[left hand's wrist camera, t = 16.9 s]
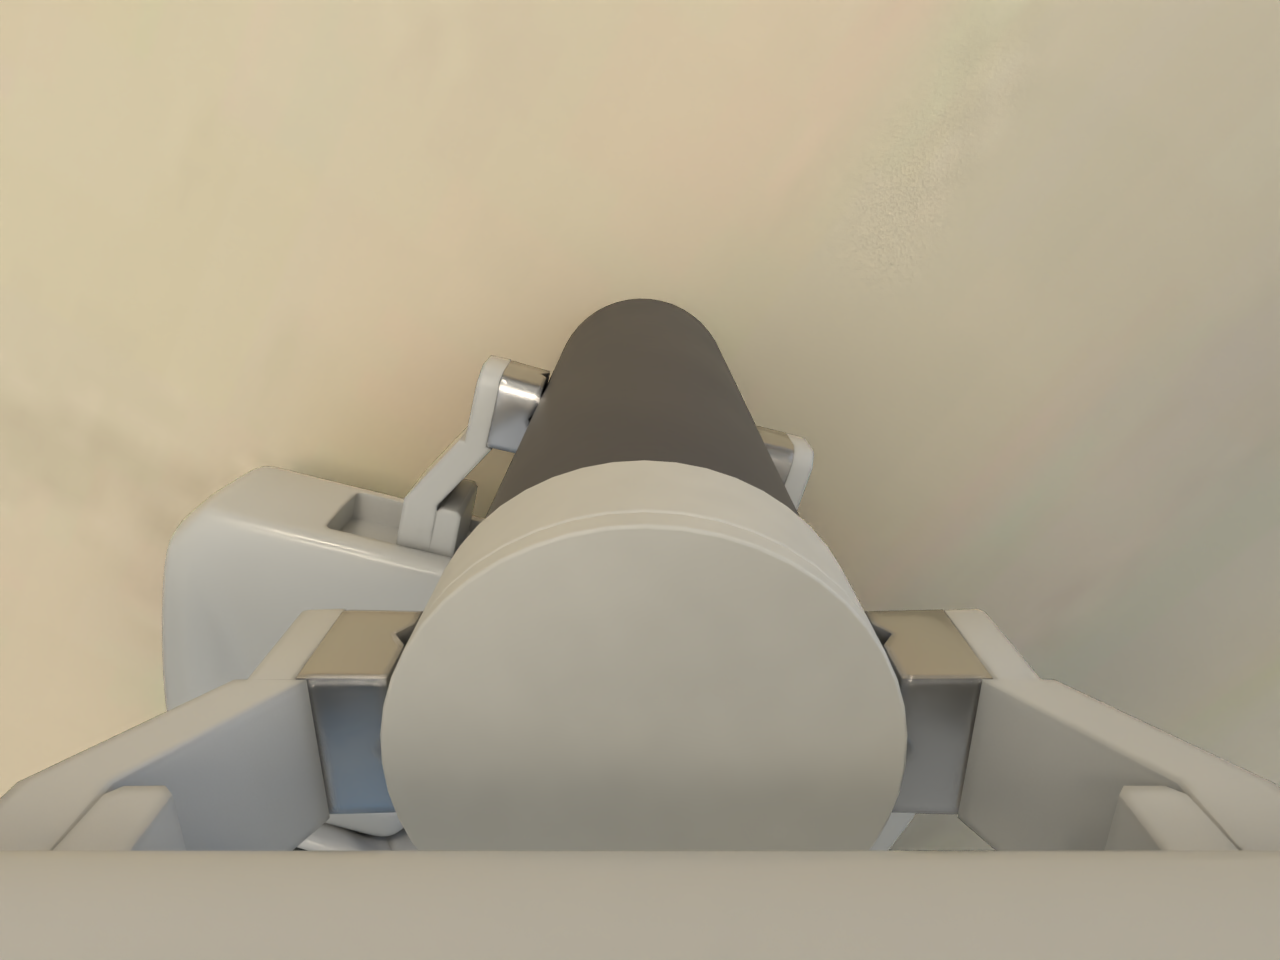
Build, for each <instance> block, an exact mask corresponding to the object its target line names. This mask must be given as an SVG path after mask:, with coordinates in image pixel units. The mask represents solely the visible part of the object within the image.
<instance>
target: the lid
mask: <svg viewBox="0 0 1280 960" xmlns="http://www.w3.org/2000/svg"><path fill="white" fill-rule="evenodd" d="M907 737H908V736H907V725H906V714H905V706H904V702H903V698H902V694H901V691H900V687H899V683H898V679H897V677H896V675H895V672H894V670H893V668H892V666H891V663H890V661H889V659H888V656H887V654H886V652H885V650H884V648H883V646H882V644H881V642H880V640H879V639H878V637H877V635H876V633H875V631H874V629H873V627H872V625H871V623H870V621H869V620H868V618H867V616H866V614H865V612H864V610H863V608H862V606H861V604H860V602H859V601H858V599H857V597H856V595H855V593H854V591H853V589H852V587H851V585H850V583H849V581H848V580H847V578H846V576H845V574H844V572H843V570H842V568H841V567H840V565H839V564H838V562H837V561H836V559H835V557H834V556H833V554H832V553H831V551H830V550H829V548H828V546H827V545H826V544H825V543H824V542H823V541H822V540H821V538H820V537H819V536H818V535H817V534H816V533H815V532H814V530H813V529H812V528H811V527H810V526H809V525H808V524H807V523H806V522H805V521H803V520H802V519H801V518H800V517H799V516H798V515H797V514H795V513H794V512H793V511H792V510H791V509H790V508H788V507H787V506H786V505H784V504H783V503H781V502H779V501H778V500H776V499H775V498H773V497H772V496H770V495H769V494H767V493H766V492H764V491H762V490H760V489H758V488H756V487H754V486H752V485H750V484H748V483H746V482H744V481H741V480H739V479H737V478H735V477H732V476H729V475H726V474H723V473H719V472H716V471H713V470H710V469H707V468H702V467H697V466H692V465H687V464H682V463H676V462H662V461H647V460H641V461H624V462H611V463H606V464H600V465H595V466H589V467H584V468H580V469H577V470H574V471H571V472H568V473H564V474H561V475H558V476H555V477H552V478H550V479H548V480H546V481H544V482H541V483H539V484H537V485H535V486H533V487H531V488H529V489H526V490H525V491H523V492H521V493H520V494H518V495H517V496H515V497H514V498H512V499H511V500H509V501H507V502H506V503H504V504H503V505H501V506H500V507H499V508H497V509H496V510H495V511H494V512H493V513H492V514H490V515H489V516H488V517H487V518H486V519H485V520H483V521H482V522H481V523H480V524H479V525H478V526H477V527H476V528H475V529H474V530H473V531H472V533H471V534H470V535H469V536H468V537H467V538H466V539H465V540H464V542H463V543H462V544H461V545H460V546H459V548H458V549H457V551H456V553H455V554H454V556H453V557H452V559H451V560H450V562H449V563H448V565H447V566H446V568H445V570H444V572H443V574H442V576H441V578H440V580H439V581H438V583H437V585H436V587H435V589H434V591H433V593H432V595H431V597H430V599H429V601H428V603H427V605H426V607H425V609H424V611H423V613H422V615H421V617H420V619H419V621H418V623H417V625H416V627H415V628H414V630H413V633H412V635H411V636H410V638H409V640H408V642H407V644H406V646H405V648H404V650H403V652H402V654H401V657H400V659H399V661H398V663H397V665H396V668H395V670H394V672H393V674H392V676H391V679H390V683H389V687H388V690H387V694H386V698H385V701H384V705H383V713H382V722H381V732H380V739H381V757H382V766H383V771H384V775H385V780H386V785H387V789H388V793H389V795H390V798H391V801H392V803H393V806H394V808H395V811H396V814H397V816H398V818H399V820H400V822H401V824H402V826H403V827H404V829H405V831H406V833H407V834H408V836H409V838H410V840H411V842H412V843H413V844H414V846H415V847H416V848H417V850H418V851H869V850H870V849H871V848H872V846H873V845H874V844H875V842H876V840H877V839H878V837H879V835H880V834H881V832H882V830H883V828H884V827H885V825H886V823H887V821H888V820H889V817H890V815H891V812H892V810H893V807H894V805H895V802H896V800H897V797H898V795H899V791H900V787H901V783H902V778H903V774H904V770H905V765H906V751H907Z"/></svg>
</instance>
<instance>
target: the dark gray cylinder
mask: <svg viewBox="0 0 1280 960" xmlns="http://www.w3.org/2000/svg"><path fill="white" fill-rule="evenodd" d="M641 460H647V461H662V462H676V463H682V464H687V465H692V466H697V467H702V468H707V469H710V470H713V471H716V472H719V473H723V474H726V475H729V476H732V477H735V478H737V479H739V480H741V481H744V482H746V483H748V484H750V485H752V486H754V487H756V488H758V489H760V490H762V491H764V492H766V493H767V494H769V495H770V496H772V497H773V498H775V499H776V500H778V501H779V502H781V503H783V504H784V505H786V506H787V507H788V508H790V509H791V510H792V511H793V512H794V513H795V514H797V515H798V516H799V514H798V512H797V510H796V508H795V506H794V504H793V502H792V500H791V498H790V496H789V494H788V491H787V489H786V487H785V485H784V483H783V481H782V479H781V477H780V475H779V473H778V471H777V469H776V467H775V464H774V462H773V460H772V458H771V456H770V454H769V452H768V450H767V448H766V446H765V444H764V442H763V439H762V437H761V435H760V433H759V431H758V429H757V427H756V425H755V423H754V421H753V419H752V417H751V415H750V412H749V410H748V408H747V406H746V404H745V402H744V400H743V398H742V396H741V394H740V392H739V390H738V387H737V385H736V383H735V381H734V379H733V377H732V375H731V373H730V371H729V369H728V367H727V365H726V363H725V360H724V358H723V356H722V354H721V352H720V350H719V348H718V346H717V344H716V342H715V340H714V339H713V337H712V336H711V334H710V333H709V331H708V330H707V329H706V328H705V327H704V326H703V324H702V323H701V322H699V321H698V320H697V319H696V318H695V317H694V316H692V315H691V314H689V313H688V312H686V311H685V310H683V309H681V308H679V307H677V306H675V305H672V304H669V303H666V302H663V301H658V300H652V299H632V300H625V301H621V302H617V303H614V304H611V305H609V306H606V307H604V308H602V309H600V310H598V311H597V312H595V313H594V314H592V315H591V316H590V317H588V318H587V319H586V320H585V321H584V322H583V323H582V324H581V325H579V327H578V328H577V329H576V330H575V332H574V333H573V334H572V335H571V337H570V339H569V340H568V342H567V344H566V346H565V348H564V350H563V352H562V354H561V356H560V359H559V361H558V363H557V365H556V367H555V369H554V371H553V374H552V376H551V378H550V380H549V382H548V384H547V387H546V389H545V391H544V393H543V395H542V397H541V399H540V402H539V404H538V406H537V408H536V410H535V412H534V414H533V417H532V419H531V421H530V423H529V425H528V427H527V429H526V432H525V434H524V436H523V438H522V440H521V442H520V444H519V447H518V449H517V451H516V453H515V455H514V457H513V459H512V462H511V464H510V466H509V468H508V470H507V472H506V474H505V477H504V479H503V481H502V483H501V485H500V487H499V489H498V492H497V494H496V496H495V498H494V500H493V502H492V504H491V507H490V509H489V511H488V513H487V515H486V517H485V519H486V518H487V517H488V516H489V515H490V514H492V513H493V512H494V511H495V510H496V509H497V508H499V507H500V506H501V505H503V504H504V503H506V502H507V501H509V500H511V499H512V498H514V497H515V496H517V495H518V494H520V493H521V492H523V491H525V490H526V489H529V488H531V487H533V486H535V485H537V484H539V483H541V482H544V481H546V480H548V479H550V478H552V477H555V476H558V475H561V474H564V473H568V472H571V471H574V470H577V469H580V468H584V467H589V466H595V465H600V464H606V463H611V462H624V461H641ZM799 517H800V516H799ZM485 519H484V520H485Z"/></svg>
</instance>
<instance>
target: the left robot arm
mask: <svg viewBox="0 0 1280 960" xmlns="http://www.w3.org/2000/svg"><path fill="white" fill-rule="evenodd" d="M422 613H423V611H396V610H346V609H317V610H306V611H303V612H302V613H301V614H300V615H299V616H298V617H297V618H296V620H295V621H294V622H293V623H292V625H291V626H290V627H289V628H288V630H287V631H286V632H285V633H284V635H283V636H282V637H281V638H280V639H279V641H278V642H277V643H276V644H275V646H274V647H273V648H272V649H271V651H270V652H269V653H268V654H267V655H266V657H265V658H264V659H263V660H262V662H261V663H260V664H259V665H258V667H257V668H256V669H255V670H254V671H253V673H252V674H251V675H250V676H249V678H248V679H237V680H232V681H230V682H228V683H226V684H224V685H222V686H219V687H217V688H215V689H213V690H211V691H209V692H207V693H205V694H203V695H200V696H198V697H196V698H194V699H192V700H190V701H188V702H186V703H184V704H181V705H179V706H177V707H175V708H173V709H171V710H169V711H167V712H165V713H162V714H160V715H158V716H156V717H154V718H152V719H150V720H148V721H146V722H144V723H141V724H139V725H137V726H135V727H133V728H131V729H129V730H127V731H125V732H122V733H120V734H118V735H116V736H114V737H112V738H110V739H108V740H106V741H103V742H101V743H99V744H97V745H95V746H93V747H91V748H89V749H87V750H84V751H82V752H80V753H78V754H76V755H74V756H72V757H70V758H68V759H65V760H63V761H61V762H59V763H57V764H55V765H53V766H51V767H49V768H46V769H44V770H42V771H40V772H38V773H36V774H34V775H32V776H30V777H27V778H25V779H23V780H21V781H19V782H17V783H16V784H15V785H14V786H13V787H12V788H11V789H10V790H9V791H8V792H7V793H5V794H4V795H3V796H2V797H1V798H0V960H1280V788H1279V787H1278V786H1277V785H1276V784H1275V783H1273V782H1271V781H1269V780H1267V779H1264V778H1262V777H1260V776H1258V775H1256V774H1254V773H1252V772H1250V771H1247V770H1245V769H1243V768H1241V767H1239V766H1237V765H1235V764H1233V763H1230V762H1228V761H1226V760H1224V759H1222V758H1220V757H1218V756H1216V755H1213V754H1211V753H1209V752H1207V751H1205V750H1203V749H1201V748H1199V747H1196V746H1194V745H1192V744H1190V743H1188V742H1186V741H1184V740H1182V739H1179V738H1177V737H1175V736H1173V735H1171V734H1169V733H1167V732H1165V731H1162V730H1160V729H1158V728H1156V727H1154V726H1152V725H1150V724H1148V723H1145V722H1143V721H1141V720H1139V719H1137V718H1135V717H1133V716H1131V715H1128V714H1126V713H1124V712H1122V711H1120V710H1118V709H1116V708H1114V707H1112V706H1109V705H1107V704H1105V703H1103V702H1101V701H1099V700H1097V699H1095V698H1092V697H1090V696H1088V695H1086V694H1084V693H1082V692H1080V691H1078V690H1075V689H1073V688H1071V687H1069V686H1067V685H1065V684H1063V683H1061V682H1058V681H1056V680H1053V679H1040V677H1039V676H1038V675H1037V674H1036V672H1035V671H1034V670H1033V669H1032V668H1031V666H1030V665H1029V664H1028V663H1027V662H1026V660H1025V659H1024V658H1023V657H1022V656H1021V654H1020V653H1019V652H1018V651H1017V650H1016V648H1015V647H1014V646H1013V645H1012V644H1011V642H1010V641H1009V640H1008V639H1007V638H1006V636H1005V635H1004V634H1003V633H1002V632H1001V630H1000V629H999V628H998V627H997V626H996V624H995V623H994V622H993V621H992V620H991V618H990V617H989V616H988V615H987V614H986V612H984V611H982V610H979V609H957V610H906V611H866V612H865V614H866V616H867V618H868V620H869V621H870V623H871V625H872V627H873V629H874V631H875V633H876V635H877V637H878V639H879V640H880V642H881V644H882V646H883V648H884V650H885V652H886V654H887V656H888V659H889V661H890V663H891V666H892V668H893V670H894V672H895V675H896V677H897V679H898V683H899V687H900V691H901V694H902V698H903V702H904V706H905V714H906V725H907V736H908V737H907V751H906V765H905V770H904V774H903V778H902V783H901V787H900V791H899V795H898V797H897V800H896V802H895V805H894V807H893V810H892V813H928V814H958V818H959V819H960V820H961V821H962V822H963V823H965V824H966V825H967V826H968V827H969V828H970V829H972V830H973V831H974V832H975V833H976V834H977V835H979V836H980V837H981V838H982V839H983V840H984V841H985V842H987V843H988V844H989V845H990V846H991V847H992V848H994V849H995V850H996V851H293V850H294V849H295V848H296V847H297V846H298V845H300V844H301V843H302V842H303V841H304V840H305V839H306V838H308V837H309V836H310V835H311V834H312V833H313V832H315V831H316V830H317V829H318V828H319V827H320V826H321V825H323V824H324V823H325V822H326V821H327V820H328V819H330V815H329V814H359V813H394V812H396V811H395V808H394V806H393V803H392V801H391V798H390V795H389V793H388V789H387V785H386V780H385V775H384V771H383V766H382V757H381V739H380V732H381V722H382V713H383V705H384V701H385V698H386V694H387V690H388V687H389V683H390V679H391V676H392V674H393V672H394V670H395V668H396V665H397V663H398V661H399V659H400V657H401V654H402V652H403V650H404V648H405V646H406V644H407V642H408V640H409V638H410V636H411V635H412V633H413V630H414V628H415V627H416V625H417V623H418V621H419V619H420V617H421V615H422Z"/></svg>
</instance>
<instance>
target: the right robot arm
mask: <svg viewBox="0 0 1280 960" xmlns="http://www.w3.org/2000/svg"><path fill="white" fill-rule="evenodd" d="M549 375H550V371H547V370H543V369H540V368H536V367H533V366H529V365H526V364H522V363H519V362H515V361H511V360H510V359H506V358H501V357H496V356H492V355H491V356H490V357H489V358H488V359H487V361H486V362H485V363H484V364H483V366H482V369H481V372H480V375H479V378H478V381H477V384H476V389H475V394H474V399H473V404H472V409H471V414H470V419H469V423H468V427H467V428H466V429H465V430H464V431H463V432H462V433H461V434H460V435H459V436H458V437H457V438H456V439H455V440H454V441H453V442H452V443H451V444H450V445H449V446H448V447H447V448H446V449H445V450H444V452H443V453H442V454H441V455H440V456H439V457H438V458H437V459H436V460H435V461H434V462H433V463H432V464H431V465H430V466H429V467H428V468H427V469H426V471H425V472H424V473H423V474H422V476H421V477H420V478H419V480H418V481H417V482H416V484H415V485H414V486H413V487H412V489H411V490H410V491H409V493H408V494H407V495H406V497H405V498H404V499H403V498H399V497H395V496H391V495H387V494H383V493H379V492H375V491H371V490H367V489H363V488H358V487H354V486H350V485H346V484H342V483H338V482H334V481H330V480H326V479H322V478H318V477H314V476H310V475H306V474H302V473H298V472H294V471H290V470H286V469H282V468H277V467H271V466H263V467H259V468H256V469H253V470H251V471H249V472H248V473H246V474H244V475H243V476H241V477H240V478H238V479H236V480H235V481H233V482H231V483H230V484H228V485H226V486H225V487H223V488H221V489H220V490H218V491H217V492H215V493H214V494H213V495H211V496H210V497H209V498H207V499H206V500H205V501H204V502H202V503H201V504H200V505H199V506H198V507H196V508H195V509H194V510H193V511H192V512H190V513H189V514H188V516H187V517H186V518H185V519H184V520H183V521H182V522H181V523H180V524H179V526H178V527H177V528H176V530H175V532H174V533H173V535H172V537H171V539H170V542H169V545H168V549H167V554H166V559H165V568H164V580H163V600H162V653H163V676H164V690H165V701H166V710H167V711H169V710H171V709H173V708H175V707H177V706H179V705H181V704H184V703H186V702H188V701H190V700H192V699H194V698H196V697H198V696H200V695H203V694H205V693H207V692H209V691H211V690H213V689H215V688H217V687H219V686H222V685H224V684H226V683H228V682H230V681H232V680H237V679H248V678H249V676H250V675H251V674H252V673H253V671H254V670H255V669H256V668H257V667H258V665H259V664H260V663H261V662H262V660H263V659H264V658H265V657H266V655H267V654H268V653H269V652H270V651H271V649H272V648H273V647H274V646H275V644H276V643H277V642H278V641H279V639H280V638H281V637H282V636H283V635H284V633H285V632H286V631H287V630H288V628H289V627H290V626H291V625H292V623H293V622H294V621H295V620H296V618H297V617H298V616H299V615H300V614H301V613H302V612H303V611H306V610H317V609H346V610H396V611H424V609H425V607H426V605H427V603H428V601H429V599H430V597H431V595H432V593H433V591H434V589H435V587H436V585H437V583H438V581H439V580H440V578H441V576H442V574H443V572H444V570H445V568H446V566H447V565H448V563H449V562H450V560H451V559H452V557H453V556H454V554H455V553H456V551H457V549H458V548H459V546H460V545H461V544H462V543H463V542H464V540H465V539H466V538H467V537H468V536H469V535H470V534H471V533H472V531H473V530H474V529H475V528H476V527H477V526H478V525H479V524H480V523H481V522H482V521H483V520H484V518H480V517H476V516H472V513H473V508H474V503H475V498H476V492H477V487H478V486H477V484H476V483H475V482H474V481H470V480H467V479H464V478H465V477H466V476H467V475H468V474H469V472H470V471H471V470H472V469H473V468H474V467H475V466H476V465H477V464H478V463H479V462H480V461H481V460H482V459H483V458H484V457H485V456H486V455H487V454H488V453H489V452H490V451H491V450H492V448H495V449H499V450H504V451H508V452H512V453H516V451H517V449H518V447H519V444H520V442H521V440H522V438H523V436H524V434H525V432H526V429H527V427H528V425H529V423H530V421H531V419H532V417H533V414H534V412H535V410H536V408H537V406H538V404H539V402H540V399H541V397H542V395H543V393H544V391H545V389H546V387H547V384H548V380H549ZM756 427H757V429H758V431H759V433H760V435H761V437H762V439H763V442H764V444H765V446H766V448H767V450H768V452H769V454H770V456H771V458H772V460H773V462H774V464H775V467H776V469H777V471H778V473H779V475H780V477H781V479H782V481H783V483H784V485H785V487H786V489H787V491H788V494H789V496H790V498H791V500H792V502H793V504H794V506H795V508H796V510H798V507H799V504H800V501H801V499H802V496H803V493H804V490H805V488H806V485H807V482H808V479H809V477H810V474H811V471H812V468H813V460H814V451H813V449H812V448H811V446H810V445H809V443H808V442H807V440H806V439H805V438H803V437H799V436H795V435H791V434H787V433H784V432H780V431H776V430H772V429H768V428H764V427H760V426H756ZM329 815H330V819H328V820H327V821H326V822H325V823H324V824H323V825H321V826H320V827H319V828H318V829H317V830H316V831H315V832H313V833H312V834H311V835H310V836H309V837H308V838H306V839H305V840H304V841H303V842H302V843H301V844H300V845H298V846H297V847H296V848H295V849H294V850H293V851H418V850H417V848H416V847H415V846H414V844H413V843H412V842H411V840H410V838H409V836H408V834H407V833H406V831H405V829H404V827H403V826H402V824H401V822H400V820H399V818H398V816H397V814H396V812H394V813H359V814H329ZM915 815H916V813H892V812H891V815H890V817H889V820H888V821H887V823H886V825H885V827H884V828H883V830H882V832H881V834H880V835H879V837H878V839H877V840H876V842H875V844H874V845H873V846H872V848H871V849H870V850H869V851H888V850H889V849H890V848H891V846H892V845H893V844H894V843H895V841H896V840H897V839H898V837H899V836H900V835H901V834H902V832H903V831H904V830H905V829H906V827H907V826H908V824H909V823H910V822H911V820H912V819H913V817H914V816H915Z"/></svg>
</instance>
